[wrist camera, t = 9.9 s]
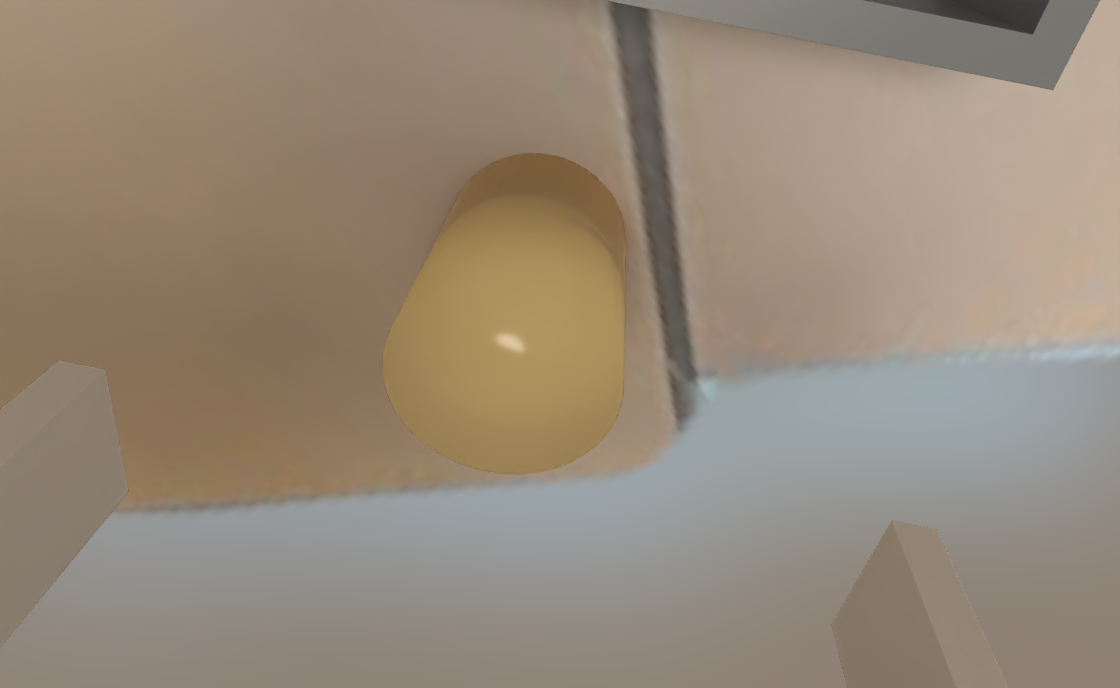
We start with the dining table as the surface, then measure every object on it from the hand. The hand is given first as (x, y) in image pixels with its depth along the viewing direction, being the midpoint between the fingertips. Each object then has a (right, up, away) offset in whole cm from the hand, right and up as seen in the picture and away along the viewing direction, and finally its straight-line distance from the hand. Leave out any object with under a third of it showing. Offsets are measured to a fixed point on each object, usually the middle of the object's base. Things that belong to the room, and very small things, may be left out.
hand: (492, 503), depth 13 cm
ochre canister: (+1, +6, +9) cm, 10 cm away
